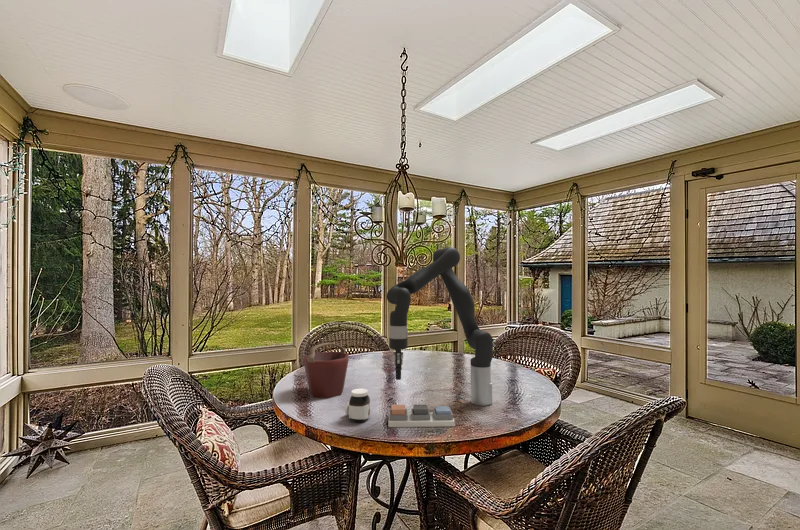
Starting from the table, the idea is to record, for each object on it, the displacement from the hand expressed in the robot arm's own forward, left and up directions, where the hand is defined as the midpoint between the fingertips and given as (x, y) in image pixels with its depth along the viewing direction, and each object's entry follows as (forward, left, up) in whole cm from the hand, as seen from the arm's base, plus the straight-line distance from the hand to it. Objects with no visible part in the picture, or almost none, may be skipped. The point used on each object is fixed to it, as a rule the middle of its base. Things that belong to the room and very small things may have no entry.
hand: (398, 379), depth 156 cm
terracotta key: (0, 0, -14) cm, 14 cm away
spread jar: (+17, -5, -18) cm, 25 cm away
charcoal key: (-9, 0, -14) cm, 16 cm away
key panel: (-9, 0, -17) cm, 20 cm away
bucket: (+36, -39, -18) cm, 56 cm away
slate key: (-18, 0, -15) cm, 23 cm away
